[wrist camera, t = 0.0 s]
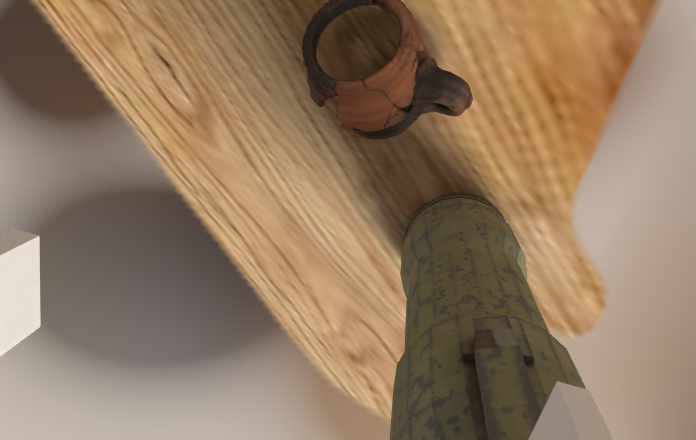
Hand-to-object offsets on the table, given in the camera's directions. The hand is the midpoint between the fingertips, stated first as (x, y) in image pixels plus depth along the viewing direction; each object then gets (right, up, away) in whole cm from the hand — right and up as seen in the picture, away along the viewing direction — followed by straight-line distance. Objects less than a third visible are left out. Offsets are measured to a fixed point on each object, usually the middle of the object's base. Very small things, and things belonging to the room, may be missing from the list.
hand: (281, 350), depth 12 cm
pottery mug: (+5, +14, +25) cm, 29 cm away
